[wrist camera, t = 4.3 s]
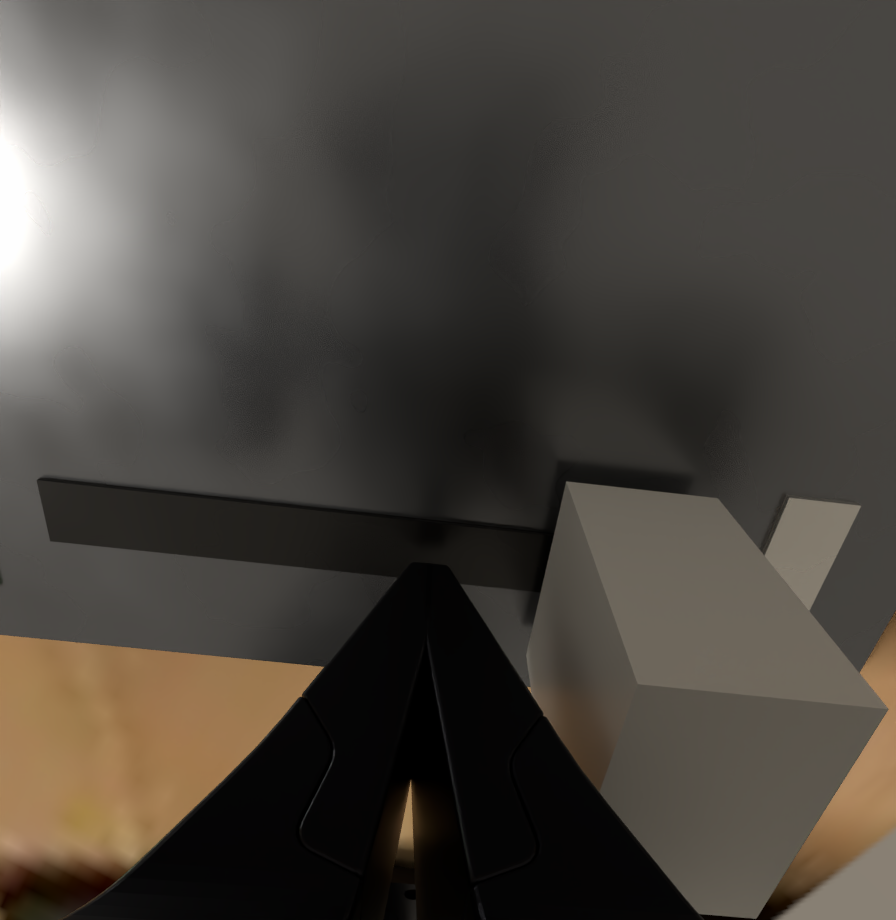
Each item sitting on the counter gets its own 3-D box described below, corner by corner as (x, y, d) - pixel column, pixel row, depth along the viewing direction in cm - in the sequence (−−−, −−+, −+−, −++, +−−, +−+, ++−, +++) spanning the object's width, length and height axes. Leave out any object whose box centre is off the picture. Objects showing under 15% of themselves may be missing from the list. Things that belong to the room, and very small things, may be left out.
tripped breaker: (655, 667, 11) (756, 919, 7) (526, 654, 11) (560, 902, 7) (718, 498, 9) (888, 709, 5) (566, 481, 9) (637, 683, 5)
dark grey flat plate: (794, 661, 13) (836, 720, 12) (-73, 572, 12) (-142, 624, 11) (1374, -483, 6) (1660, -689, 5) (-549, -817, 5) (-919, -1187, 4)
